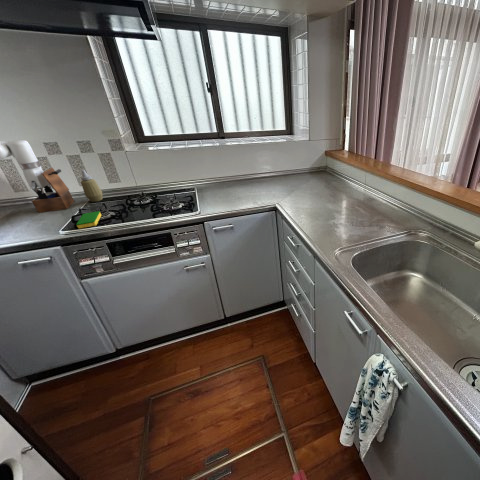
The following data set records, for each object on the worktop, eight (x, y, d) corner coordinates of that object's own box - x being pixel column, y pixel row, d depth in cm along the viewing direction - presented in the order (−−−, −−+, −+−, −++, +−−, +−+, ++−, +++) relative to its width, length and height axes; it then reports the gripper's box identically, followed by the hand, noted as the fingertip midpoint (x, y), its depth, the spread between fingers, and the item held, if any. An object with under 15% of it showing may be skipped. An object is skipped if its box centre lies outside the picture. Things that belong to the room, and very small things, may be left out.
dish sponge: (101, 215, 140) (99, 210, 138) (96, 225, 129) (94, 221, 128) (85, 217, 137) (82, 213, 136) (78, 229, 126) (75, 224, 125)
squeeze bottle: (103, 196, 163) (90, 167, 154) (106, 200, 158) (92, 170, 149) (87, 200, 159) (73, 170, 150) (89, 203, 153) (74, 173, 144)
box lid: (40, 173, 136) (51, 170, 138) (50, 167, 146) (60, 165, 147) (59, 196, 144) (69, 194, 145) (67, 190, 153) (77, 187, 154)
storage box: (38, 212, 144) (31, 200, 140) (47, 205, 153) (41, 193, 149) (66, 208, 148) (60, 197, 144) (74, 201, 157) (68, 190, 153)
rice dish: (38, 202, 143) (34, 196, 142) (44, 197, 149) (41, 192, 147) (54, 200, 146) (51, 195, 144) (59, 196, 151) (56, 190, 150)
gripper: (29, 162, 144) (46, 193, 153) (11, 170, 130) (31, 204, 139) (47, 161, 146) (63, 192, 155) (31, 169, 132) (49, 202, 141)
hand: (48, 197), depth 147 cm, fingers closed on rice dish, 7 cm apart
